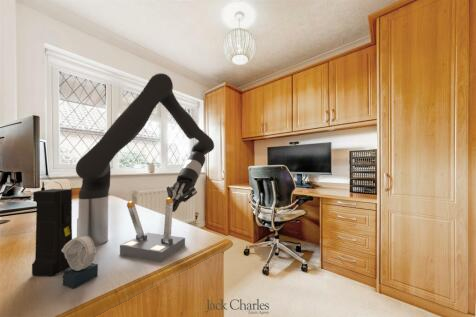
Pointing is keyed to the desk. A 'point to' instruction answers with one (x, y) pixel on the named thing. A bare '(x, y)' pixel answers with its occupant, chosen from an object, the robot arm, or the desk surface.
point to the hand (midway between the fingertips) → (171, 210)
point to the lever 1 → (135, 219)
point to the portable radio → (52, 230)
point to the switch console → (152, 247)
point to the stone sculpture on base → (79, 262)
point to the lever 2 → (168, 219)
